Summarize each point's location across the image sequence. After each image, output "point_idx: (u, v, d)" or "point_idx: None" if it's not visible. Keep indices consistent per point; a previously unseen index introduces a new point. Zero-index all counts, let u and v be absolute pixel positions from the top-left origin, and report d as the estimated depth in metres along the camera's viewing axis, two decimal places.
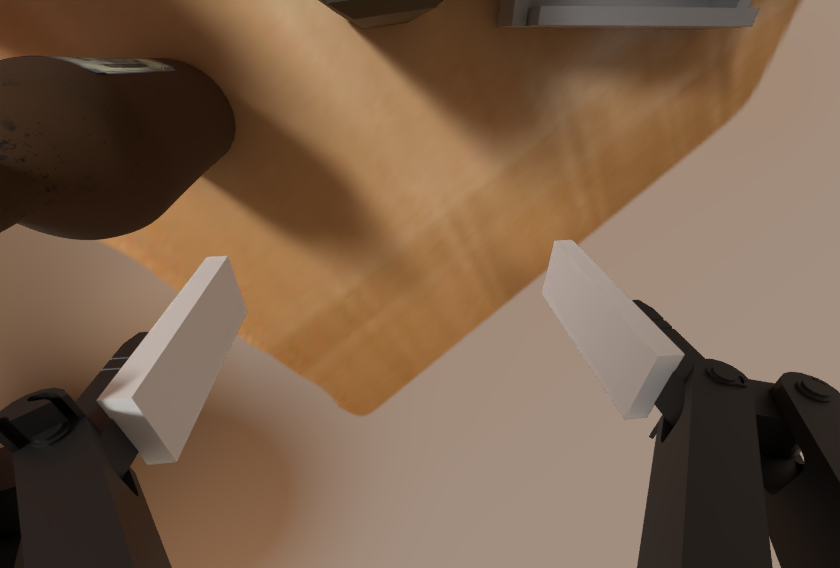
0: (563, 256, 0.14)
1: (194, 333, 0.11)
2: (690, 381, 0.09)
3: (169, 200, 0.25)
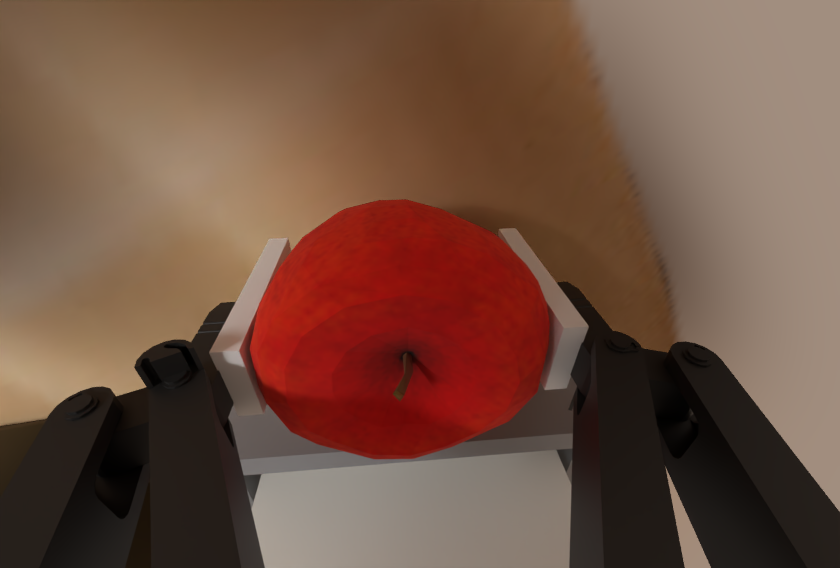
0: None
1: None
2: (593, 354, 0.10)
3: None
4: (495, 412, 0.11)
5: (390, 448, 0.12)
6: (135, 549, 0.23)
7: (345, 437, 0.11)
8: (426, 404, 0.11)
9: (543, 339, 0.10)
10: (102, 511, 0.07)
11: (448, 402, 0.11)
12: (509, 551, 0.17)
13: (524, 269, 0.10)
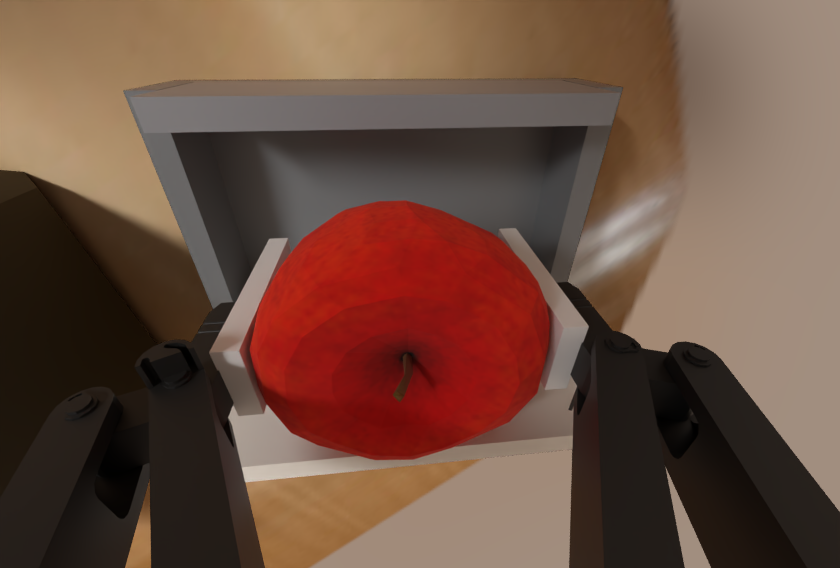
0: (504, 242, 0.15)
1: None
2: (593, 354, 0.10)
3: None
4: (495, 413, 0.11)
5: (390, 449, 0.12)
6: (88, 333, 0.21)
7: (346, 438, 0.11)
8: (426, 405, 0.11)
9: (543, 340, 0.10)
10: (102, 511, 0.07)
11: (448, 403, 0.11)
12: None
13: (524, 270, 0.10)
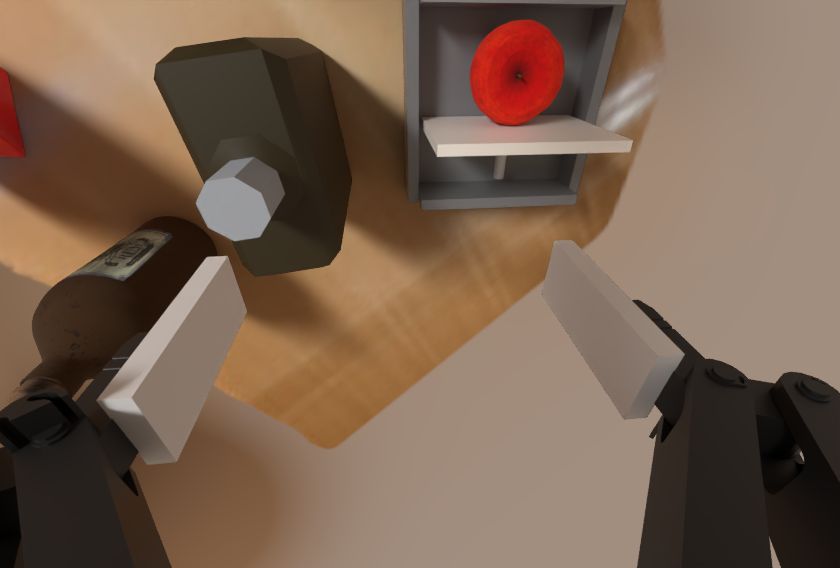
0: (563, 255, 0.14)
1: (194, 333, 0.11)
2: (690, 381, 0.09)
3: None
4: (546, 94, 0.34)
5: (510, 111, 0.34)
6: (337, 136, 0.38)
7: (498, 102, 0.34)
8: (523, 93, 0.34)
9: (562, 63, 0.33)
10: None
11: (531, 91, 0.34)
12: (558, 128, 0.36)
13: None
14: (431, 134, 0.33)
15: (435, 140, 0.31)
